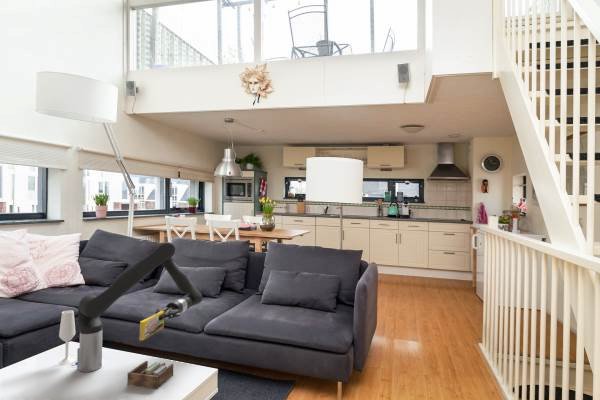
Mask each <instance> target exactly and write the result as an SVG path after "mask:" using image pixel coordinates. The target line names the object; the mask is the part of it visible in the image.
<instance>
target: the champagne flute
mask: <svg viewBox="0 0 600 400" xmlns="http://www.w3.org/2000/svg"><path fill="white" fill-rule="evenodd" d="M74 313H75V312H74V310H72V309H70V310H64V311H62V312H61V319H60V324H59V325H60V326H59V334H58V337H59V339H61V340H62V341H63V342H65V354H64V355H65V357H64V358H63V359H61V360H60V361H58V365H70V364H73V362H75V360H76V359H74V358H72V357H69V342H70V341H71V340H72V339H74V337H75V335H76V324H75V314H74Z"/></svg>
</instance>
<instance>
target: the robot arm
mask: <svg viewBox="0 0 600 400" xmlns="http://www.w3.org/2000/svg"><path fill="white" fill-rule="evenodd" d="M175 252H176V246H175V245H174V243H172V242H169V241H162V242H159V243H156V245H155V246H154V247H153V251H152V252H151V253H150V254H149V255H147V256H146V257H144V258H142V259H140V260H138V261H137V262H134V263H133V264H131V265H130V266H128V267H127V268H126V269H125V270H123V271H122V272H121V273H119V274H118V275H117V276H116V277H115V279H114V280H113V282H112V283H111V284H110V286H109V287H108V288H107V289H105V290H104V291H102V292H101V293H100V294H98V295H94V294H89V295H86V296H84V297H83V298H81V299H80V301H79V304H78V308H77V311H78V312H77V313H78V315H77V318H78V319H77V321H78V322H77V323H78V327H79V347H78V348H77V351H76V352H77V357H76V362H77V363H76V368H77V369H76V370H78V371H79V372H83V373H88V372H93V371H97V370H99V369H100V368H101V367H102V366H103V330H104V329H103V328H104V327H103V322H102V319H101V316H102V315H103V314H104V313H105V312H106V311H107V310H108V309H109V308H110V307H111V306H112V305H113V304H115V302H116V301H117V300H119V299H120V298H122V296H124V295H125V294H126V293H128V292H129V291H130V290H131V289H132V288H134V287H135V286H136V285H138V284H139V283H140V282H142V281H143V279H145V278H146V277H147V276H148V275H150V274H151V273H152V272H153V271H154V270H155V269H156V268H157V267H159V266H160V265H162V266H163V268H165V271H167V273H168V274H169V276H170V277H171V278H172V279H171V280H173V282H174V284H175V285H176V287H177V289H178V290H179V291H180V293H187V294H185V295H184V296H182V297H180V298H177V299H175V300H173V301H171V302H169V303H167V304H166V306H165V307H164V308H162V309H159V308H156V309H155V312H154V314H156V313H158V312H160V311H164V314H162V315H160V316H159V321H161V320H163V319H164V320H165V319H169V320H170V319H173V318H174V319H175V318H177V317H180V316H181V315H182V314H183V313H184V312H186V311H187V310H189V309H190V308H191V307H193V306H196V305H198V304H200V303H201V302H202V301H203V295H202V293H201V292H200V290H198V289H197V288H196V287H195V286H194V285H193V284H192V283H191V281H190V280H189V278H188V276H187V274H186V273H185V272H184V271H183V270H182V268H181V267H180V266H178V264H177V263H176V261H175V260H174V258H173V256H174V255H175Z"/></svg>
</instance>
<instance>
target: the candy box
mask: <svg viewBox="0 0 600 400" xmlns="http://www.w3.org/2000/svg"><path fill="white" fill-rule="evenodd" d="M162 314H164V311H160V312H158V313H156V314H155V313H154V314H153V315H151V316H148V317H147V318H145V319H143V320H140V321H139V340H138V341H142V342H143V341H144V340H146V339H148V338H150V337H151V336H153V335H154V334H156V333H157V332H159V331H162V330H163V329H164V326H165V325H164V324H165V319H163V320H161V321H159V316H160V315H162Z"/></svg>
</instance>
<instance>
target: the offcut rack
mask: <svg viewBox="0 0 600 400" xmlns="http://www.w3.org/2000/svg"><path fill="white" fill-rule="evenodd" d="M156 362H157V361H154V363H156ZM154 363H152V364H150V365H148V360H145V361H143V362H141V363H140V364H139V365H138V366H136V367H135V368H133V369H131V370H130V371H129V372H127V383H126V385H127V386H131V387H137V388H138V387H139V388H140V387H141V388H148V389H153V390H158V389H159V388H160V387H162V386H163V385H164V384H165V383H166V382H167V381H168V380H170V378H172V377H173V376H174V363H171V364H169V365H168V366H167V368H166V369H164V370H163V371H162V372H161V373H159V374H158V375H157V376H155V375H153V372H155V371H156V370H157V369H159V368H160V367H161V366H162V365H164V366H166V362H162V364H161V365H160V366H159V367H157V368H156V369H155V370H153V371H152V372H151V373H149V375H147V374H146V369H147V368H149V367H150V366H152V365H153V364H154Z"/></svg>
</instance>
